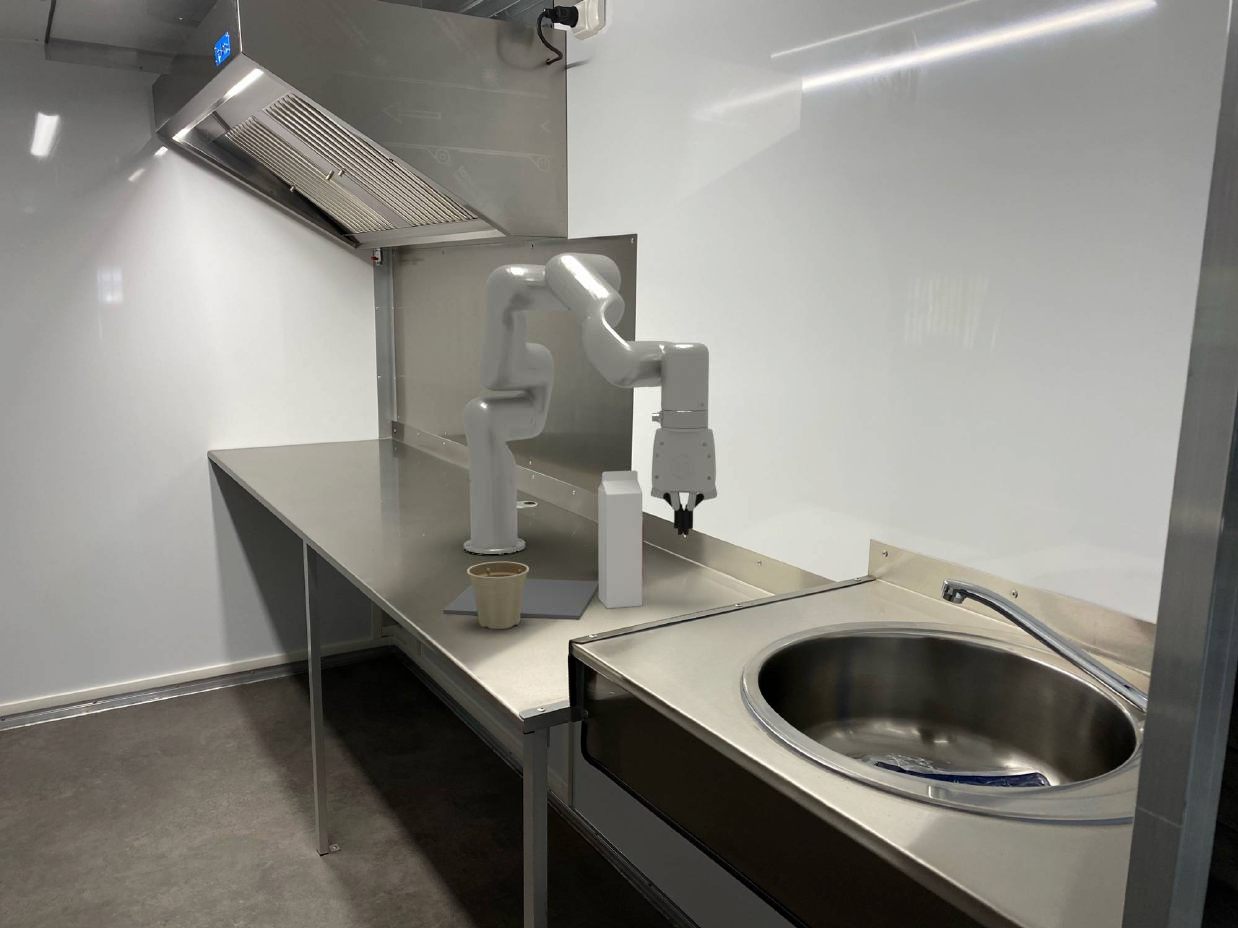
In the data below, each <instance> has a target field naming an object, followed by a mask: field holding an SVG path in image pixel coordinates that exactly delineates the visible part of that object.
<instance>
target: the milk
mask: <svg viewBox="0 0 1238 928" xmlns="http://www.w3.org/2000/svg"><path fill="white" fill-rule="evenodd" d="M638 475H639V474H638V470H617V471H615V470H612V471H603V472H602V474H601V482H600V484H599V486H598V488H597V513H598V517H597V518H598V519H597V521H598V522H597V523H598V524H597V525H598V528H597V529H598V532H597V533H598V534H597V535H598V536H597V540H598V541H597V542H598V543H597V545H598V562H597V563H598V566H597V567H598V581H599V587H598V599H599V600H600V602H601V603H602V604H603V606H604V607H605V608H607V609H620V608H630V607H631V608H632V607H633V608H634V607H642V606H643V573H642V516H643V491H642V488H641V486H640V482H639V481H638V480H639V478H638V477H639V476H638Z"/></svg>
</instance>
